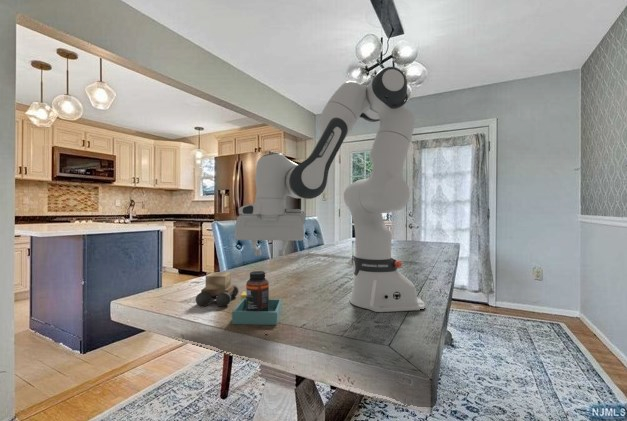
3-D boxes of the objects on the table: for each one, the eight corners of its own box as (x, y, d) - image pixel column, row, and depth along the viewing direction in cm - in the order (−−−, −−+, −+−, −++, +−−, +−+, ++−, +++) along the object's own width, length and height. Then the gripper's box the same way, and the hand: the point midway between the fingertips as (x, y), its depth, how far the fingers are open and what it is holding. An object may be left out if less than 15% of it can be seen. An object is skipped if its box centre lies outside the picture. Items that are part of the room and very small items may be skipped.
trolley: (238, 296, 99) (238, 271, 99) (229, 306, 89) (229, 278, 89) (208, 296, 100) (208, 270, 100) (195, 306, 89) (195, 277, 89)
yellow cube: (256, 304, 92) (257, 291, 92) (254, 309, 88) (254, 295, 88) (243, 304, 92) (243, 291, 92) (240, 309, 88) (240, 295, 88)
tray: (281, 310, 87) (282, 299, 87) (276, 324, 76) (277, 312, 76) (242, 309, 87) (243, 298, 87) (232, 324, 76) (232, 311, 76)
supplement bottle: (271, 311, 84) (271, 270, 84) (265, 318, 78) (265, 274, 78) (249, 310, 85) (250, 269, 85) (242, 317, 79) (243, 274, 79)
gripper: (305, 209, 93) (305, 254, 93) (239, 208, 93) (238, 253, 93) (305, 209, 86) (304, 257, 86) (233, 208, 87) (232, 256, 87)
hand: (269, 255), depth 90 cm, fingers open, 5 cm apart
